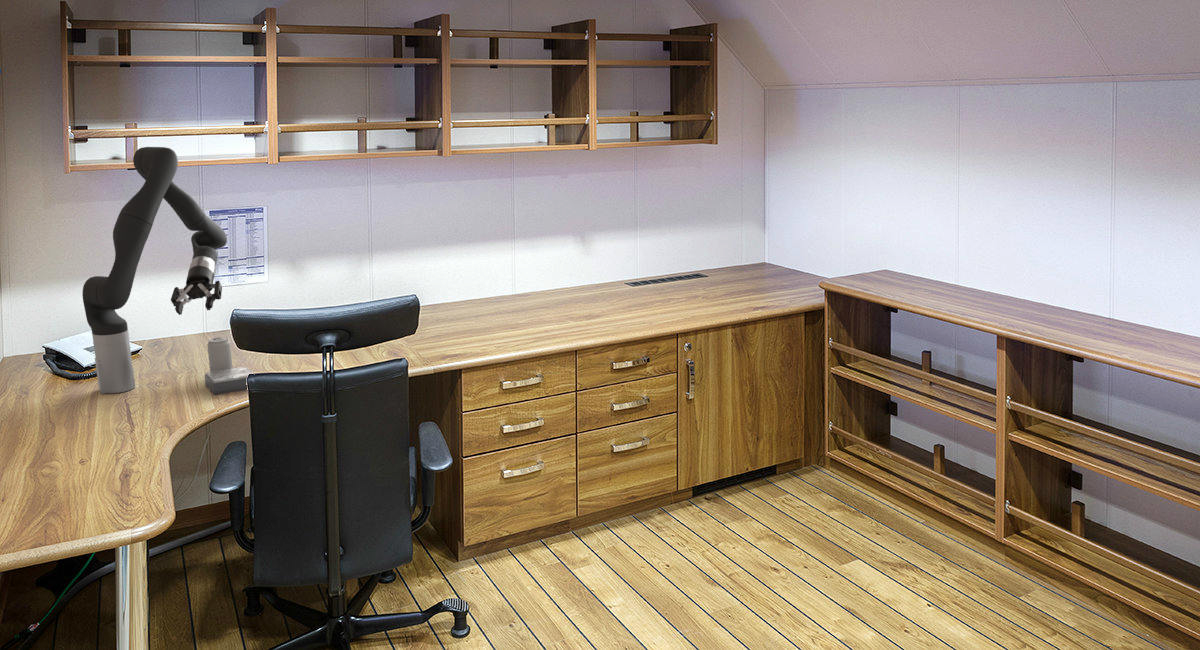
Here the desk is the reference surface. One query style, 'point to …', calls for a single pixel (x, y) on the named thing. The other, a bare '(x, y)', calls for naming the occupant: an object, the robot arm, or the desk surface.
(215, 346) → the beverage can
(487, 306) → the desk surface
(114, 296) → the robot arm
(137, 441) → the desk surface
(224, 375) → the stand
